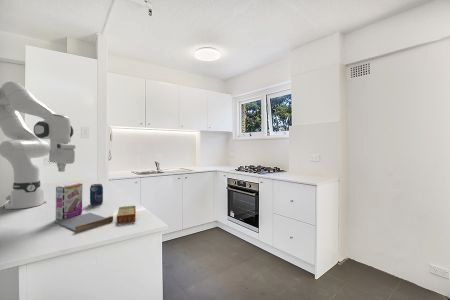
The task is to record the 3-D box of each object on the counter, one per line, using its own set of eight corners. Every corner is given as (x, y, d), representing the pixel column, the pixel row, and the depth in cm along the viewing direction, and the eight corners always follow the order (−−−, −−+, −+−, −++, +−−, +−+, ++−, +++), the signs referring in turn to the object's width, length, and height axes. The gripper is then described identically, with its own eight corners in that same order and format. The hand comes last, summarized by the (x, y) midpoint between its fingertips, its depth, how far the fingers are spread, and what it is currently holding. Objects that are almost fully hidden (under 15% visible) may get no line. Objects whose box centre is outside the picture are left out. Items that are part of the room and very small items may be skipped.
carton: (116, 224, 103) (116, 215, 103) (118, 214, 118) (118, 206, 118) (135, 222, 106) (135, 213, 106) (135, 212, 121) (135, 204, 121)
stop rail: (75, 231, 93) (75, 226, 93) (111, 220, 107) (111, 215, 107) (76, 232, 93) (76, 226, 92) (113, 221, 106) (113, 216, 106)
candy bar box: (63, 220, 106) (63, 187, 105) (55, 219, 107) (54, 186, 106) (83, 213, 117) (82, 183, 116) (75, 212, 118) (75, 182, 117)
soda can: (97, 205, 131) (97, 186, 131) (87, 205, 133) (87, 185, 132) (105, 202, 138) (105, 183, 138) (96, 202, 139) (96, 183, 139)
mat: (54, 222, 103) (54, 221, 103) (90, 213, 117) (90, 212, 117) (75, 231, 93) (75, 230, 93) (111, 220, 107) (111, 219, 107)
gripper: (45, 145, 118) (45, 170, 119) (63, 145, 108) (63, 173, 108) (58, 145, 124) (59, 169, 124) (77, 145, 113) (77, 172, 113)
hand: (61, 171), depth 116 cm, fingers closed
